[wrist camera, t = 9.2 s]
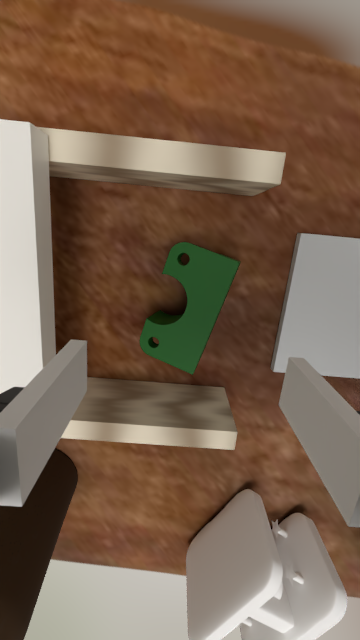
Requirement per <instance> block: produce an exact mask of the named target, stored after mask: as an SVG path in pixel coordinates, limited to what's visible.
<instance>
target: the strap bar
mask: <svg viewBox="0 0 360 640" xmlns="http://www.w3.org/2000/svg"><path fill="white" fill-rule="evenodd" d="M55 356H56V342H55V315H54V288H53V261H52V234H51V207H50V180H49V153H48V135H47V134H45V133H44V132H43V131H41V130H40V129H38V128H37V127H36V126H34V125H33V124H31V123H30V122H21V121H11V120H2V119H0V394H1V393H3V392H5V391H7V390H9V389H11V388H12V387H26V386H27V385H28V384H29V383H30V382H31V380H32V379H33V378H34V377H35V376H36V375H37V374H38V373H39V372H40V371H41V370H42V369H43V368H44V367H45V366H46V365H47V364H48V363H49V362H50V361H51V360H52V359H53V358H54V357H55Z"/></svg>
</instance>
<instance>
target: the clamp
mask: <svg viewBox="0 0 360 640" xmlns="http://www.w3.org/2000/svg"><path fill="white" fill-rule="evenodd" d="M184 253H186V254H188V255H189V258H190V261H189V263H188V264H187V265H184V264H183V263H182V262H181V256H182V255H183V254H184ZM240 262H241V261H238V260H235V259H233V258H230V257H228V256H225V255H222V254H217V253H215V252H212V251H210V250H207V249H204V248H202V247H199V246H197V245H194V244H191V243H187V242H181V243H178V244H176V245H175V246H173V247H172V249H171V250H170V252H169V255H168V258H167V261H166V264H165V267H164V270H163V273H162V274H167V275H170V276H173V277H174V278H176V279H177V280H178V281H179V282H180V283H181V284H182V285H183V287H184V289H185V291H186V294H187V307H186V310H185V313H184V314H182V315H176V316H174V315H169V314H166V313H164V312H162V311H161V310H160V311H158V312H156V313H155V314H153V315H152V316H150V317H148V318H147V319H146V322H145V325H144V328H143V331H142V334H141V337H140V346H141V348H142V350H143V351H144V352H145V353H146V354H148V355H150V356H152V357H154V358H156V359H159V360H161V361H163V362H165V363H168V364H170V365H172V366H174V367H177V368H179V369H181V370H183V371H186V372H188V373H190V374H192V375H193V373H194V371H195V369H196V367H197V364H198V362H199V360H200V358H201V356H202V353H203V351H204V349H205V346H206V344H207V342H208V339H209V337H210V334H211V332H212V330H213V327H214V325H215V322H216V320H217V318H218V315H219V313H220V310H221V308H222V306H223V303H224V301H225V298H226V296H227V294H228V291H229V289H230V286H231V284H232V282H233V279H234V277H235V274H236V272H237V270H238V267H239V265H240ZM153 337H156V338H157V339H158V340H159V344H156V343H154V341H153V339H152V338H153Z"/></svg>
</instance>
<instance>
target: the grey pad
mask: <svg viewBox="0 0 360 640" xmlns="http://www.w3.org/2000/svg"><path fill="white" fill-rule="evenodd" d="M289 357H296V358H304V359H305V360H306V361H307V362H308V363H309V364H310V365H311V366H312V367H313V368H314V369H315V370H316V371H317V372H318V373H319V374H320V375H321V376H334V377H347V378H360V239H358V238H347V237H337V236H326V235H316V234H305V233H297V237H296V242H295V247H294V252H293V257H292V262H291V267H290V272H289V277H288V282H287V287H286V292H285V297H284V302H283V308H282V313H281V318H280V323H279V328H278V333H277V338H276V343H275V348H274V353H273V358H272V363H271V369H272V371H273V372H283V373H286V368H287V364H288V359H289Z"/></svg>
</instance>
